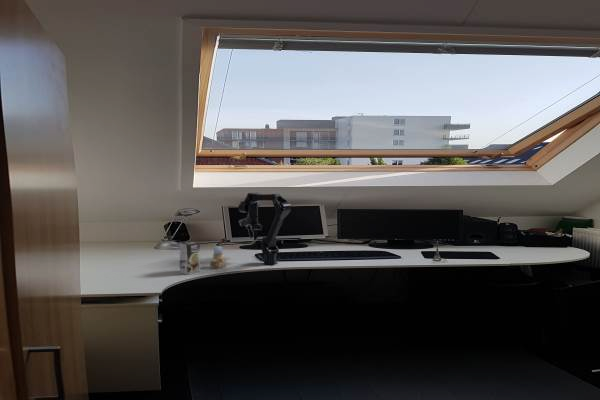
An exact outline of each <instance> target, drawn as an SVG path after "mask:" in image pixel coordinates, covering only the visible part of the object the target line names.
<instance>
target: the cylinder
mask: <svg viewBox="0 0 600 400" xmlns="http://www.w3.org/2000/svg"><path fill="white" fill-rule="evenodd" d="M222 253H223V247H222V246H221V245H215V246H213V254H216V255H219V254H222Z"/></svg>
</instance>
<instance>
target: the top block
mask: <svg viewBox="0 0 600 400" xmlns="http://www.w3.org/2000/svg"><path fill="white" fill-rule="evenodd" d="M223 260H225V252H222V254H219V255H216V254H214V253H212V261H213V262H222V261H223Z"/></svg>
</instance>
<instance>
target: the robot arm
mask: <svg viewBox="0 0 600 400" xmlns="http://www.w3.org/2000/svg"><path fill="white" fill-rule="evenodd" d="M263 201H271V202H272V205H273V207H274V208H275V217H274V219H273V222H272V224H271V227H270V228H269V229H270V230H269V232H268V234H267V236H263V237H262V239H261V241H260V248H261V252H262V255H263V263H262V265H267V266H275V265H277V264H278V261H277V254H278V253H279V251H280V249H279V247H278V246H277V239H276V238H277V236H278V233H279V231H280V228H281V227H282V225H283V222H284V219H285V218H286V217H287V216H288V215H289V214H290V212H291V211H292V206H291V203H290V202H289V201H288V200H287V199H285V198H284V197H282V195H281V194H280V193H264V194H263V193H260V192H248V193H247V195H246V196H245V199H244V200H242V201H240V203H239V204H238V207H237V209H238V211H239V212H240V213H247V215H246V217H244V218H242V219H239V220H238V223H239V226H240V227H244V226H245V228H246V230H248V235H249V238H252V239H253V240H254V241H257V239H258V237H259V234H260V232H262V229H263V225H262V224H261V223H260V221H259V217H260V215H259V214H258V212H259V211H258V210H259V207H261V204H260V203H259V202H263Z"/></svg>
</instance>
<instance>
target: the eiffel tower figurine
mask: <svg viewBox="0 0 600 400" xmlns="http://www.w3.org/2000/svg"><path fill="white" fill-rule="evenodd" d="M431 261H432V262H431V264H434V262H436V263H438V264H439V263H449V260H447V259H446V258H441V256H440V254H439V241H438V240H437V241H436V249H435V255H434V257H433V258H432V260H431Z"/></svg>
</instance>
